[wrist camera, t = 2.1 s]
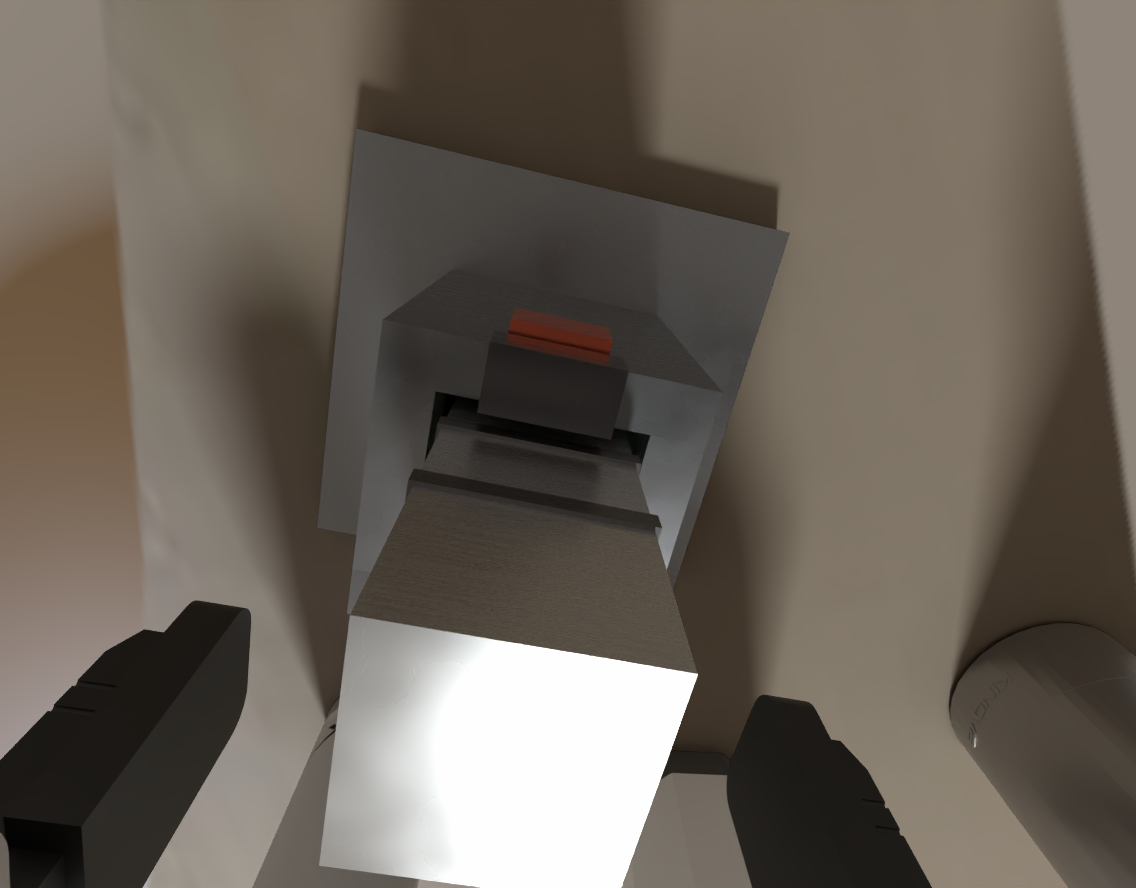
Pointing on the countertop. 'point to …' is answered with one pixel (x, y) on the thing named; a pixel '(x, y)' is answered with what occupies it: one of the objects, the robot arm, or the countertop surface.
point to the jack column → (509, 667)
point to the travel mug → (314, 832)
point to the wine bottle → (689, 829)
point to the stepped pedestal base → (531, 327)
